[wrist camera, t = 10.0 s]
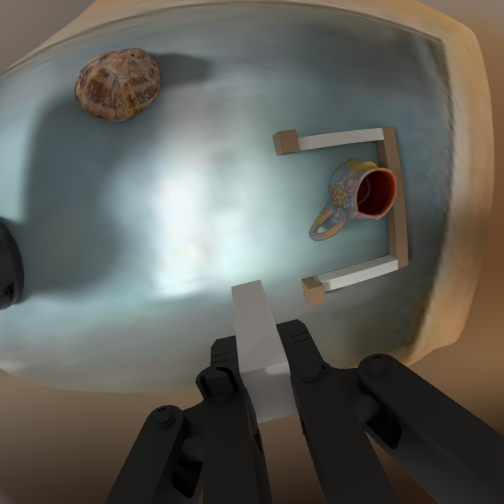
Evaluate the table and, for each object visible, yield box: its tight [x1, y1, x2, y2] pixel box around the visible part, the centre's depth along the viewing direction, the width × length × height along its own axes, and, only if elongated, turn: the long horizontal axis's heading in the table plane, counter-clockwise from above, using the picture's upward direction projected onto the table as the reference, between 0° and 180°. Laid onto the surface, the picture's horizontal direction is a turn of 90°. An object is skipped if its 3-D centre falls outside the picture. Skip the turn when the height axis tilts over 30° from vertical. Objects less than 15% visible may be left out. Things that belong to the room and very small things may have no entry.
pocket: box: [273, 127, 408, 306], centre depth 32 cm, size 16×21×3 cm
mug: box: [309, 158, 397, 241], centre depth 30 cm, size 12×7×7 cm, turn 130°
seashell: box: [75, 48, 161, 122], centre depth 24 cm, size 10×9×10 cm
